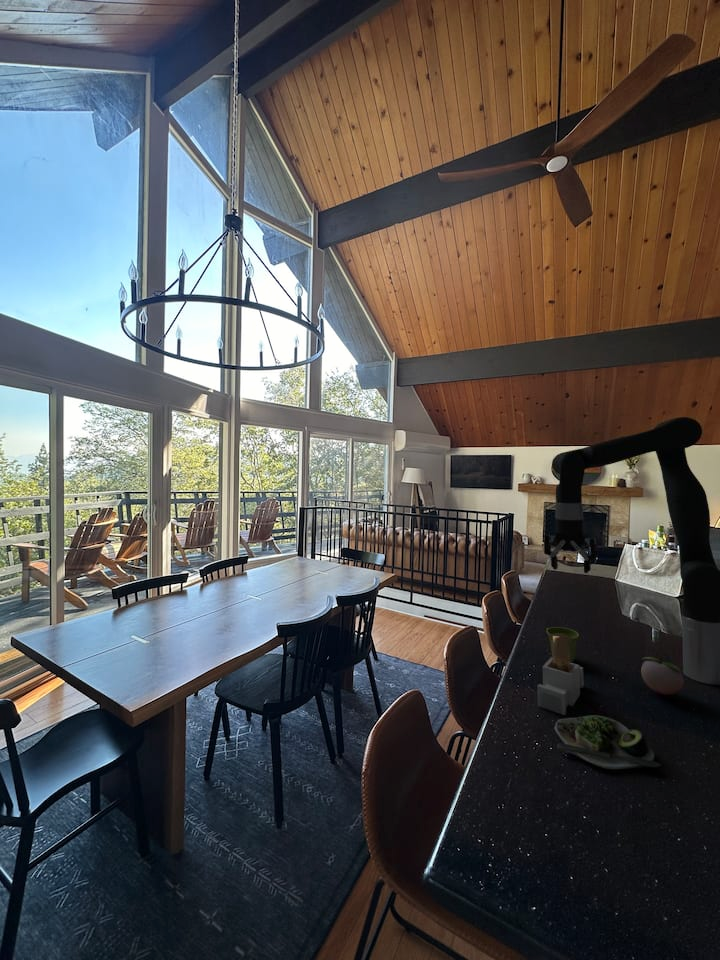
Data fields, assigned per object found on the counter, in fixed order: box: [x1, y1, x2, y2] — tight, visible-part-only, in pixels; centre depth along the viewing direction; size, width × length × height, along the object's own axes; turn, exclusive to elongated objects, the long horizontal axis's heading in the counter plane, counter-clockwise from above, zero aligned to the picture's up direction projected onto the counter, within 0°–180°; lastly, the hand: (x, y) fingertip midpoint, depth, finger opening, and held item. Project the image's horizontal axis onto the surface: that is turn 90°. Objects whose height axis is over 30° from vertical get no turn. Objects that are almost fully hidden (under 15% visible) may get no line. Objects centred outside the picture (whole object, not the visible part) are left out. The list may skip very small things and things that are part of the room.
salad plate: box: [553, 714, 662, 771], centre depth 87 cm, size 19×18×5 cm
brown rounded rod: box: [552, 633, 571, 673], centre depth 107 cm, size 4×4×12 cm
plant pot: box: [545, 626, 580, 663], centre depth 129 cm, size 9×9×9 cm
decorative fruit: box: [640, 656, 685, 696], centre depth 107 cm, size 9×8×10 cm
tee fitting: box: [536, 657, 584, 716], centre depth 107 cm, size 7×18×8 cm, turn 138°
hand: (570, 570), depth 122 cm, fingers open, 8 cm apart
